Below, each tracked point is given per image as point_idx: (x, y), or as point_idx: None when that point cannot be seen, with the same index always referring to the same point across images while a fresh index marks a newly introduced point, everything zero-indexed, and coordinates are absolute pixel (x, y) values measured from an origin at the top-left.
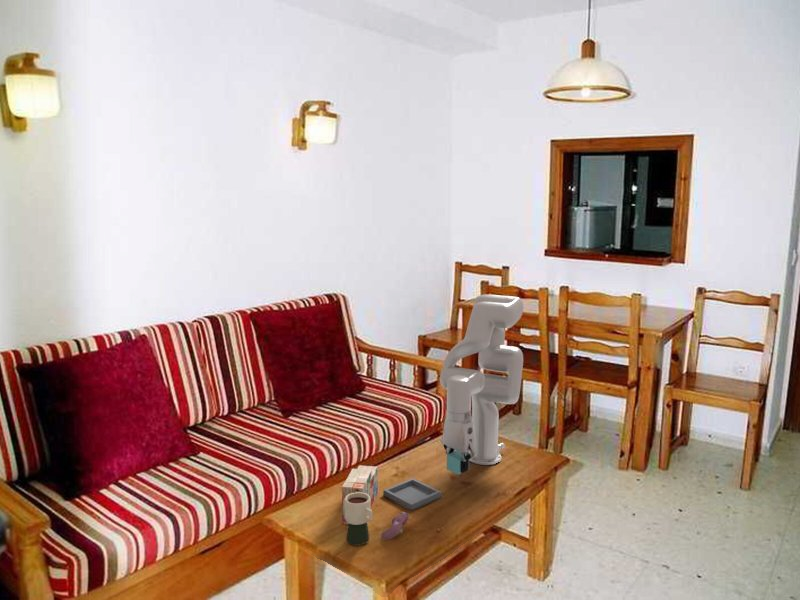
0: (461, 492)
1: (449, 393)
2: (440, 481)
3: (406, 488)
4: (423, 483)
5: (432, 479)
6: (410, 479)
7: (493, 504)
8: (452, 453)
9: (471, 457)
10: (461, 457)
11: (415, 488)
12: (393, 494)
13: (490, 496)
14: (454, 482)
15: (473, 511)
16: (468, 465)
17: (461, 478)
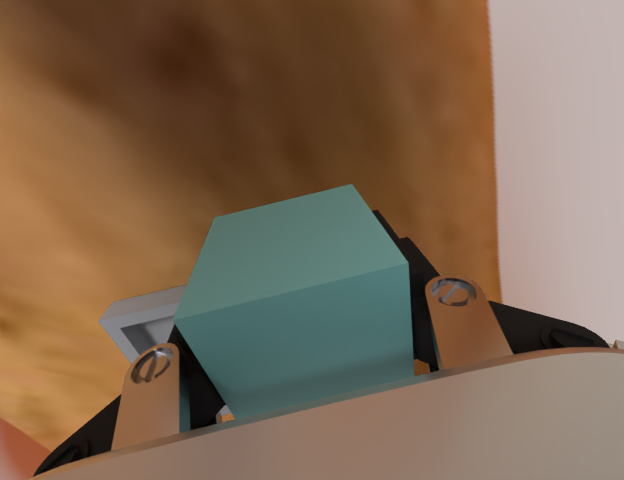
0: (280, 155)
1: None
2: (119, 184)
3: (161, 342)
4: (172, 306)
5: (84, 208)
6: (113, 334)
7: (472, 81)
8: (247, 397)
9: (547, 327)
10: (396, 364)
11: (172, 317)
12: (224, 412)
13: (401, 29)
14: (153, 119)
15: (450, 209)
16: (420, 254)
17: (107, 37)
